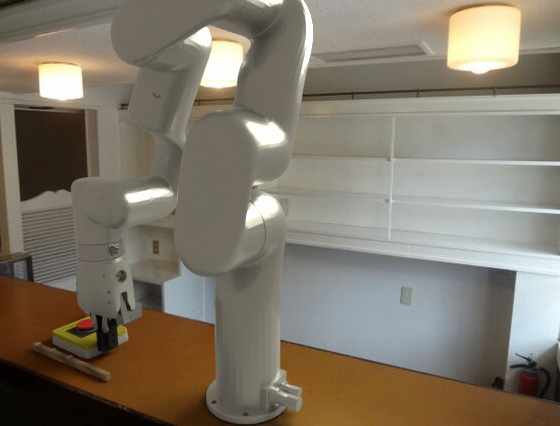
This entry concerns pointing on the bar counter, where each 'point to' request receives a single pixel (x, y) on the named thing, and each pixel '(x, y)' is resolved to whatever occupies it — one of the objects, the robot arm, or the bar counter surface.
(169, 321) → the bar counter surface
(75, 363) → the rail
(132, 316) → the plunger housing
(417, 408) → the bar counter surface
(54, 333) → the emergency button
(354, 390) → the bar counter surface
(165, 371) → the bar counter surface
